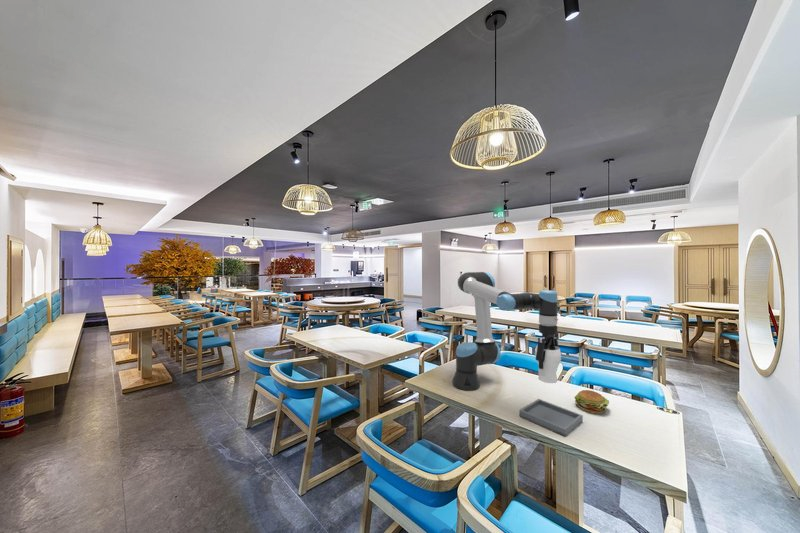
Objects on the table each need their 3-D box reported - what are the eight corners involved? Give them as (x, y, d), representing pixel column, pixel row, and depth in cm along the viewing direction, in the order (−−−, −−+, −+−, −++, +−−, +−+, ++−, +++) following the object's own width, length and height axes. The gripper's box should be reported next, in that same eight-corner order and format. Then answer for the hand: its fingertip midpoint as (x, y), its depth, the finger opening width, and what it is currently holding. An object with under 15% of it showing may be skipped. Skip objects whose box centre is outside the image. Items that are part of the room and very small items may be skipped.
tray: (519, 416, 138) (519, 410, 138) (538, 404, 150) (538, 398, 150) (565, 436, 123) (565, 429, 123) (582, 421, 134) (582, 415, 134)
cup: (564, 385, 131) (564, 351, 131) (538, 383, 133) (538, 350, 133) (556, 376, 141) (556, 344, 141) (532, 374, 143) (532, 343, 143)
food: (596, 418, 137) (596, 401, 137) (568, 404, 150) (569, 388, 150) (616, 413, 142) (616, 396, 142) (587, 399, 155) (588, 384, 155)
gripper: (544, 329, 127) (543, 381, 127) (567, 322, 141) (567, 369, 141) (527, 326, 133) (526, 376, 133) (551, 320, 147) (551, 365, 147)
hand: (547, 372), depth 137 cm, fingers closed on cup, 10 cm apart
